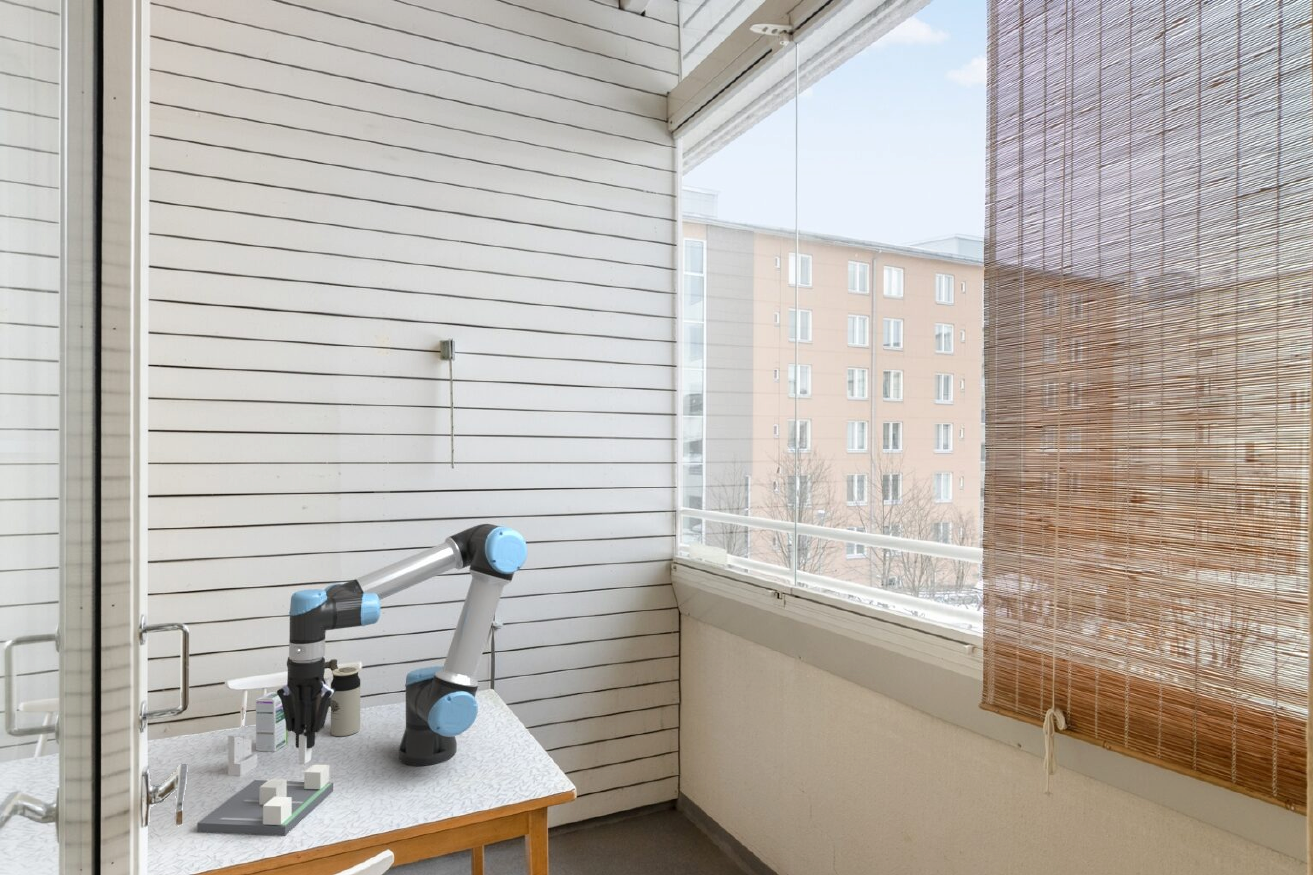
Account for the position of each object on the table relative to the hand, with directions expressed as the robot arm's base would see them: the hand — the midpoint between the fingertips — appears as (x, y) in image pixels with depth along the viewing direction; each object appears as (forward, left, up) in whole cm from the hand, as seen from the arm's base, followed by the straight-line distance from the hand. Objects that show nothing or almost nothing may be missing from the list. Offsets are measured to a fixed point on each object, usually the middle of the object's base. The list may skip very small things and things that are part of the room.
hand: (304, 761), depth 165 cm
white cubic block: (+8, 0, -9) cm, 12 cm away
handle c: (+2, +8, -9) cm, 12 cm away
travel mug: (+14, -45, -12) cm, 49 cm away
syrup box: (+29, -33, -12) cm, 46 cm away
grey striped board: (+9, 0, -12) cm, 15 cm away
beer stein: (+29, -54, -12) cm, 63 cm away
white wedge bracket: (+28, -19, -12) cm, 36 cm away
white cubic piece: (+2, -8, -9) cm, 13 cm away
